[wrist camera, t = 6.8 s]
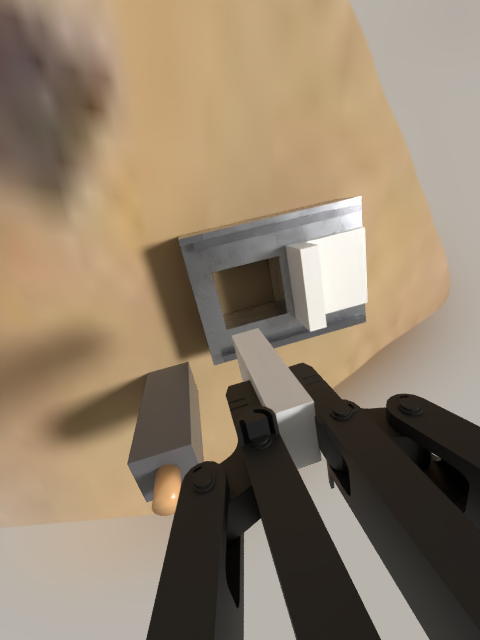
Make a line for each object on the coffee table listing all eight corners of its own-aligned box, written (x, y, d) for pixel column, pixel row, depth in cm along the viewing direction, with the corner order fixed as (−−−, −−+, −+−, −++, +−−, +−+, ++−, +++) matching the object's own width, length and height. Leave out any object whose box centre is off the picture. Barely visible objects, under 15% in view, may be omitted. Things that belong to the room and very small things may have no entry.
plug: (159, 402, 32) (142, 536, 18) (147, 373, 30) (119, 496, 17) (197, 391, 32) (208, 514, 19) (188, 361, 31) (192, 473, 17)
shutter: (295, 318, 27) (310, 331, 24) (285, 245, 24) (300, 249, 21) (362, 300, 27) (385, 310, 24) (359, 227, 25) (384, 228, 22)
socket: (210, 347, 30) (214, 369, 26) (178, 236, 26) (177, 240, 21) (344, 309, 32) (370, 324, 28) (337, 199, 27) (366, 195, 23)
